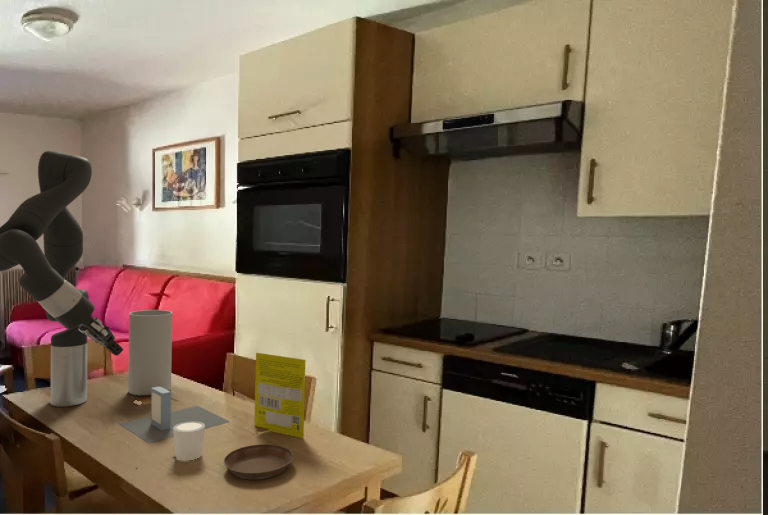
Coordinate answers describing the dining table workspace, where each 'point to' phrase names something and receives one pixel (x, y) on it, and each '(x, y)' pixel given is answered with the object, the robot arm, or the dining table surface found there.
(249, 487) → the dining table surface
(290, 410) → the food package
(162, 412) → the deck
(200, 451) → the white tapered cup
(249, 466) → the saucer
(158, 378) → the cylinder vase
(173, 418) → the mat
